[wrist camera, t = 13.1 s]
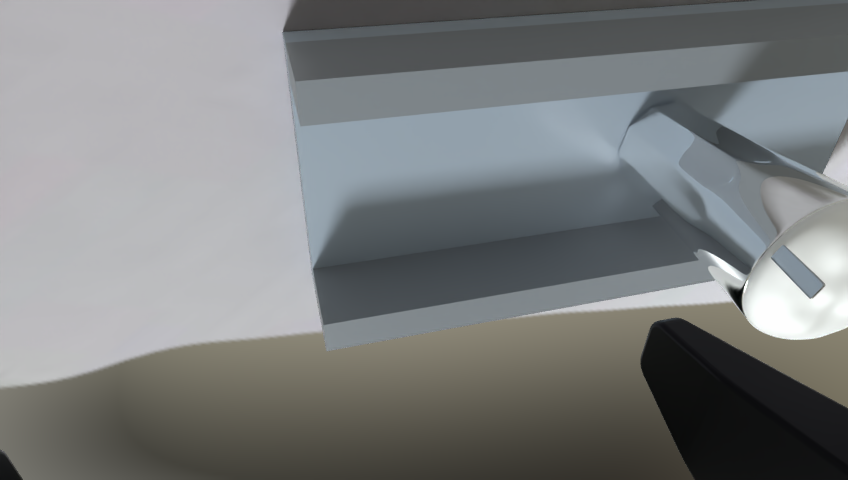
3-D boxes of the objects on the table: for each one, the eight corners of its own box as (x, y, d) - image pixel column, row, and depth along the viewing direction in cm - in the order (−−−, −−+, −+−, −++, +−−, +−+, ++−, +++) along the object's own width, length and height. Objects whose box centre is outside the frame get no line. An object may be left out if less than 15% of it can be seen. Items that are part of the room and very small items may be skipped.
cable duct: (312, 277, 23) (326, 351, 20) (282, 32, 18) (295, 81, 15) (787, 203, 28) (857, 254, 25) (878, -8, 23) (983, 23, 20)
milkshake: (641, 52, 20) (901, 210, 13) (734, 113, 23) (998, 275, 15) (562, 164, 22) (747, 361, 14) (657, 208, 25) (857, 397, 17)
